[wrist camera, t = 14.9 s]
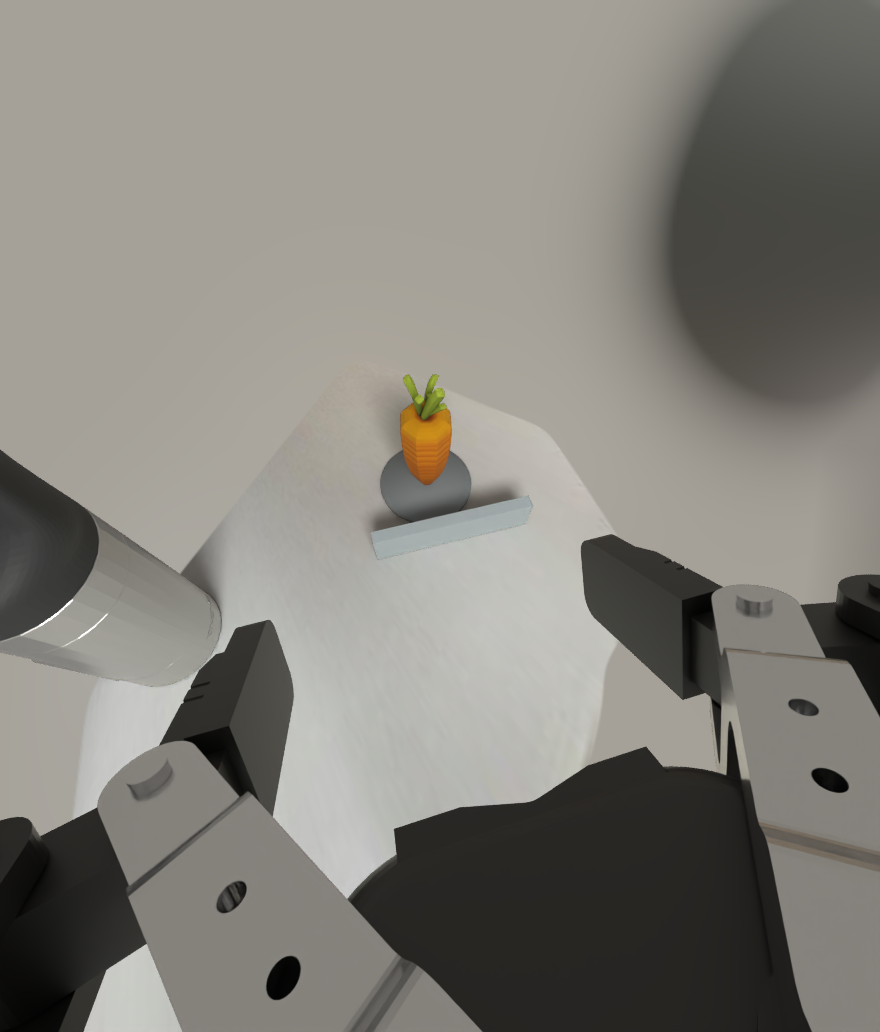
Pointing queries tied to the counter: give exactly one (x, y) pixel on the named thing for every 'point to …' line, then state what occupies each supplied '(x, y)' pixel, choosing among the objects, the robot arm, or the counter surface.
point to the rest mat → (425, 489)
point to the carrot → (426, 432)
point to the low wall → (451, 527)
